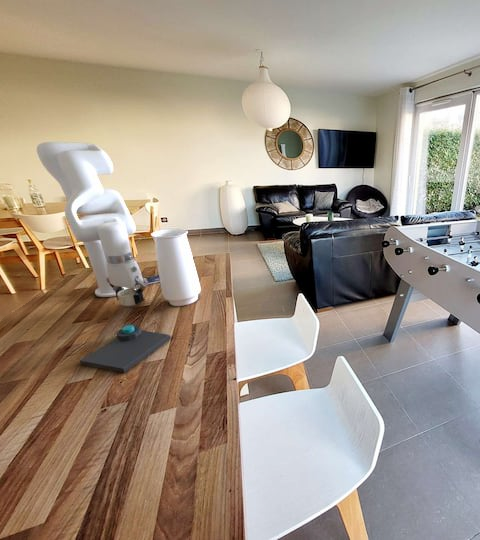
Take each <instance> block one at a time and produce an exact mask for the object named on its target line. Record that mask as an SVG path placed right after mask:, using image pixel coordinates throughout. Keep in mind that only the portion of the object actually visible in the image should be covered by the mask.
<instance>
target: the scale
mask: <svg viewBox="0 0 480 540" xmlns="http://www.w3.org/2000/svg"><path fill="white" fill-rule="evenodd" d="M133 326H134V329H135V331H134V332H132V333H129V334H123V332H122V328H121V329H119V330H117V331H116V333H115V334H116V337H115V338H114V339H112V340H111V341H109V342H107V343H106V344H104V345H103V346H101V347H100V348H98V349H96V350H94V351H93V352H90V353H89V354H88V355H86V356H85V357H83V358H81V359H79V362H80V365H82V366H87V367H92V368H98V369H103V370H108V371H115V372H119V373H126V372H128V371H129V370H130V369H132V368H133V367H134V366H136V365H137V364H138V363H140V362H141V361H142V360H143V359H145V358H146V357H148V356H149V355H150V354H151V353H153V352H154V351H156V350H157V349H159V347H161V346H162V345H164V344H165V343H166V342H167V341H169V340H170V339H171V335H170V334H167V333H160V332H154V331H148V330H142V328H141V327H140V326H139V325H136V324H135V325H134V324H133Z"/></svg>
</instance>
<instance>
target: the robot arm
mask: <svg viewBox="0 0 480 540" xmlns="http://www.w3.org/2000/svg"><path fill="white" fill-rule="evenodd" d="M36 153H37V156H38V158H39V161H40V162H41V164H42V166H43V167H44V168H45V170H46V171H47V172H48V173H49V174H50V175H51V177H53V178H54V179H55V180H56V182H57V183H58V184H59V186H60V188H61V190H62V192H63V194H64V197H65V198H66V200H67V201H66V203H65V206H64V215H65V220H66V222H67V224H68V226H69V228H70V230H71V232H72V235H73V236H74V238H75V239H76V240H77V241H79V242H81V243H83V245H84V248H85V250H86V254H87V256H88V259H89V263H90V265H91V269H92V273H93V275H94V278H95V281H96V284H97V288H96V289H95V290H94V294H95V296H96V297H100V298H111V297H116V300H117V301H118V302H119V299H118V296H117V293H118V292H119V291H121V290H123V289H127V288H131V290H132V291H133V293H134V295H133V296H134V300H135V303H136V305H139V304H141V303H143V302H144V301H145V297H144V294H143V293H144V291H145V290H146V288H147V287H148V284H147V285H146V284H145V283H144V282H143V278H144V277H143V275H142V272H141V270H140V269H141V268H140V266H139V265H138V263H137V261H136V260H135V259H134V256H133V251H132V247H131V243H130V239H129V236H132V235H134V234H135V233H136V230H137V228H136V224H135V221H134V219H133V216H132V215H131V212H130V211H129V209H128V206H127V205H126V203H125V201H124V199H123V197H122V195H121V194H120V193H119V191H117V190H115V189H113V188H104V187H103V185H102V183H101V181H100V179H99V177H98V175H99V176H100V175H101V176H103V175H104V176H105V175H111V174H113V172H114V165H113V162H112V160H111V158H110V156H109V155H108V154H107V152H106V151H104V150H103V148H100V146H98V145H96V144H94V143H91V142H71V141H44V142H41V143H39V144H38V145H37V146H36ZM78 215H80V217H79V216H78ZM135 288H138V290H137V291H136V289H135Z"/></svg>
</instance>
